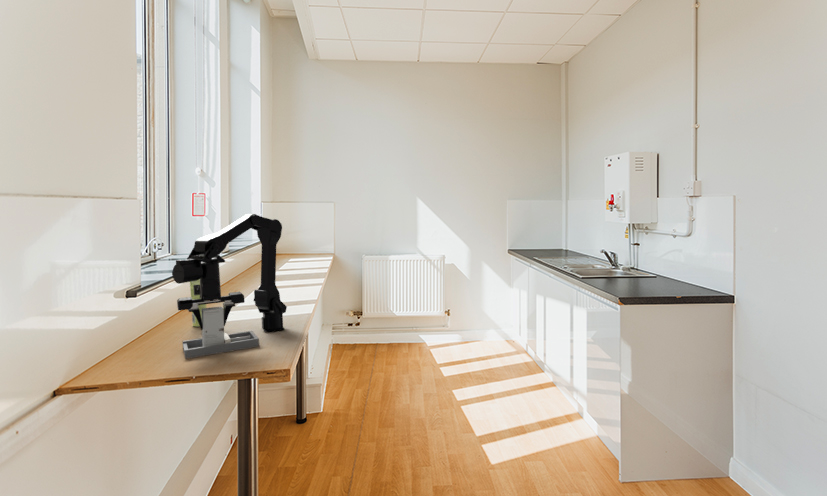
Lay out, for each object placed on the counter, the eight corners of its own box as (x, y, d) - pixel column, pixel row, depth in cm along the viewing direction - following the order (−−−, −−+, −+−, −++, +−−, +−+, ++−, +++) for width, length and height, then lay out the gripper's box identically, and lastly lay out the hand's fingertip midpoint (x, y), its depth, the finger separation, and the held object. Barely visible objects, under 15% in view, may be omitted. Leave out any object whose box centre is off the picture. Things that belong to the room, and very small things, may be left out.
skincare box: (204, 349, 137) (202, 310, 136) (202, 346, 141) (200, 308, 140) (225, 346, 141) (223, 308, 140) (223, 343, 144) (221, 306, 143)
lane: (252, 337, 152) (252, 330, 152) (259, 346, 143) (258, 338, 142) (183, 348, 142) (182, 341, 141) (185, 358, 132) (184, 350, 132)
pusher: (247, 338, 150) (247, 329, 150) (252, 344, 143) (252, 335, 143) (222, 342, 146) (221, 333, 146) (225, 349, 139) (225, 339, 139)
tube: (208, 322, 173) (205, 272, 172) (209, 325, 169) (205, 274, 167) (192, 324, 171) (189, 273, 169) (192, 327, 166) (188, 275, 165)
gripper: (237, 272, 151) (240, 318, 152) (174, 278, 141) (178, 326, 143) (243, 276, 141) (246, 325, 142) (176, 283, 132) (180, 335, 133)
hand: (213, 327), depth 140 cm, fingers closed on skincare box, 6 cm apart
